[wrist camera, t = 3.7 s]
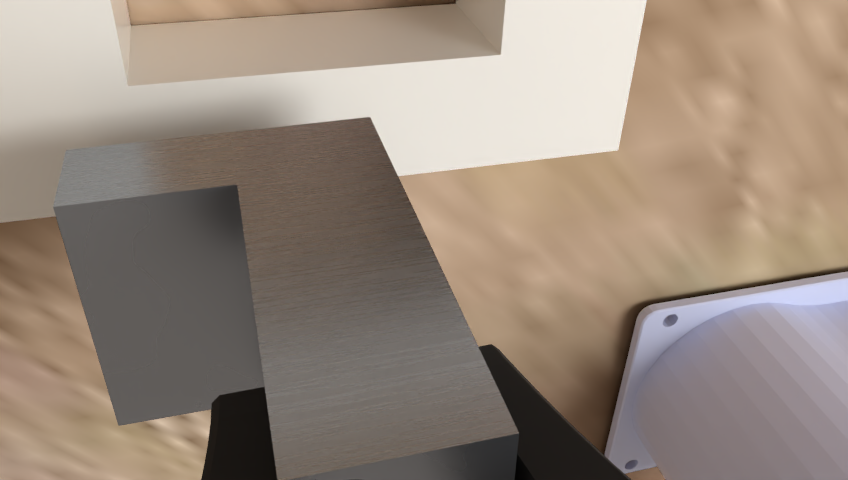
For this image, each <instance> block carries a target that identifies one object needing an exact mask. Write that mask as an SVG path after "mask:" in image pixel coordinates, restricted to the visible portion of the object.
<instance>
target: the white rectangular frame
mask: <svg viewBox="0 0 848 480" xmlns="http://www.w3.org/2000/svg"><path fill="white" fill-rule="evenodd" d="M646 1H647V0H456V4H444V5H429V6H414V7H399V8H384V9H370V10H355V11H340V12H325V13H311V14H296V15H281V16H266V17H251V18H237V19H222V20H207V21H192V22H177V23H163V24H148V25H133V26H131V23H130V18H129V13H128V8H127V2H126V0H0V223H4V222H12V221H21V220H29V219H38V218H46V217H55V216H56V215H55V212H54V209H53V205H54V200H55V196H56V191H57V187H58V183H59V178H60V174H61V170H62V165H63V161H64V156H65V152H66V150H70V149H79V148H88V147H98V146H107V145H116V144H125V143H134V142H144V141H153V140H162V139H171V138H180V137H190V136H199V135H208V134H217V133H226V132H236V131H245V130H254V129H263V128H272V127H282V126H291V125H300V124H309V123H318V122H328V121H337V120H346V119H355V118H364V117H370V118H371V120H372V122H373V124H374V126H375V128H376V131H377V133H378V135H379V137H380V139H381V141H382V143H383V145H384V148H385V150H386V152H387V154H388V156H389V158H390V160H391V162H392V165H393V167H394V169H395V171H396V173H397V175H398V176H403V175H412V174H420V173H429V172H437V171H446V170H454V169H463V168H471V167H480V166H488V165H497V164H505V163H514V162H522V161H531V160H539V159H548V158H556V157H565V156H573V155H582V154H590V153H599V152H607V151H616V150H618V148H619V143H620V137H621V132H622V127H623V122H624V116H625V111H626V106H627V101H628V95H629V90H630V85H631V80H632V74H633V69H634V64H635V58H636V53H637V48H638V43H639V37H640V32H641V27H642V22H643V16H644V11H645V6H646Z"/></svg>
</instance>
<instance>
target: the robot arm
mask: <svg viewBox="0 0 848 480" xmlns="http://www.w3.org/2000/svg"><path fill="white" fill-rule="evenodd" d="M667 316H668V317H667ZM479 349H480V351H481V353H482V356H483V358H484V360H485V362H486V364H487V366H488V368H489V370H490V372H491V375H492V377H493V379H494V381H495V383H496V385H497V387H498V389H499V392H500V394H501V396H502V398H503V400H504V402H505V404H506V406H507V409H508V411H509V413H510V415H511V417H512V419H513V421H514V423H515V426H516V428H517V430H518V432H519V440H518V450H517V460H516V470H515V479H514V480H631V479H630V478H629V477H628V476H626V475H625V473H630V472H634V471H639V470H643V469H648V468H652V467H658V468H659V470H660V472H661V473H662V475H663V476H664V478H665V480H848V271H847V272H841V273H835V274H829V275H823V276H817V277H811V278H806V279H800V280H794V281H788V282H782V283H776V284H770V285H764V286H758V287H752V288H746V289H740V290H734V291H728V292H722V293H716V294H710V295H704V296H699V297H693V298H687V299H681V300H675V301H669V302H663V303H657V304H652V305H649V306H647V307H645V308H644V309H642V311H641V312H640V313H639V315H638V317H637V319H636V324H635V328H634V332H633V336H632V340H631V345H630V349H629V353H628V357H627V361H626V366H625V370H624V374H623V378H622V382H621V387H620V391H619V395H618V399H617V403H616V408H615V412H614V416H613V420H612V425H611V429H610V433H609V437H608V441H607V446H606V450H605V454H604V455H603V454H602V453H601V452H600V451H599V450H598V449H597V448H596V447H595V446H594V445H593V444H591V443H590V442H589V441H588V440H587V439H586V438H585V437H584V436H583V435H582V434H581V433H580V432H579V431H577V430H576V429H575V428H574V427H573V426H572V425H571V424H570V423H569V422H568V421H567V420H566V419H565V418H564V417H563V416H562V415H561V414H560V413H559V412H558V411H557V410H556V409H555V408H554V407H553V406H552V405H551V404H550V403H549V402H548V401H547V400H546V399H545V398H544V397H543V396H542V395H541V394H540V393H539V392H538V391H537V390H536V389H535V388H534V387H533V385H532V384H531V383H530V382H529V381H528V380H527V379H526V378H525V377H524V376H523V375H522V374H521V373H520V372H519V371H518V370H517V369H516V368H515V367H514V365H513V364H512V363H511V362H510V361H509V360H508V359H507V358H506V357H505V356H504V355H503V354H502V353H501V351H500V350H499V349H497V348H496V347H495V346H493V345H492V344H491V345H486V346H480V347H479ZM201 480H277V473H276V466H275V459H274V451H273V444H272V437H271V429H270V422H269V415H268V407H267V400H266V393H265V387H260V388H255V389H249V390H244V391H239V392H233V393H228V394H223V395H219V396H218V397H217V398H216V399H215V400H214V401H213V402H212V407H211V425H210V433H209V441H208V448H207V454H206V459H205V464H204V469H203V474H202V479H201Z"/></svg>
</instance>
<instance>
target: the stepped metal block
mask: <svg viewBox="0 0 848 480" xmlns="http://www.w3.org/2000/svg"><path fill="white" fill-rule="evenodd" d="M53 209H54V212H55V215H56V219H57V222H58V225H59V229H60V232H61V235H62V239H63V242H64V245H65V249H66V252H67V255H68V259H69V262H70V265H71V269H72V272H73V275H74V279H75V282H76V285H77V289H78V292H79V295H80V299H81V302H82V305H83V309H84V312H85V315H86V319H87V322H88V325H89V329H90V332H91V335H92V339H93V342H94V345H95V349H96V352H97V355H98V359H99V362H100V365H101V369H102V372H103V375H104V379H105V382H106V385H107V389H108V392H109V395H110V399H111V402H112V405H113V409H114V412H115V415H116V419H117V422H118V425H119V426H120V425H126V424H131V423H137V422H142V421H148V420H154V419H159V418H165V417H170V416H176V415H181V414H187V413H193V412H198V411H204V410H209V409H211V407H212V402H213V401H214V400H215V399H216V398H217V397H218V396H219V395H223V394H228V393H233V392H239V391H244V390H249V389H255V388H260V387H265V393H266V400H267V407H268V415H269V422H270V429H271V437H272V444H273V451H274V459H275V466H276V473H277V480H514V479H515V470H516V460H517V450H518V440H519V432H518V430H517V428H516V426H515V423H514V421H513V419H512V417H511V415H510V413H509V411H508V409H507V406H506V404H505V402H504V400H503V398H502V396H501V394H500V392H499V389H498V387H497V385H496V383H495V381H494V379H493V377H492V375H491V372H490V370H489V368H488V366H487V364H486V362H485V360H484V358H483V356H482V353H481V351H480V349H479V347H478V345H477V343H476V341H475V339H474V336H473V334H472V332H471V330H470V328H469V326H468V324H467V322H466V319H465V317H464V315H463V313H462V311H461V309H460V307H459V305H458V302H457V300H456V298H455V296H454V294H453V292H452V290H451V288H450V285H449V283H448V281H447V279H446V277H445V275H444V273H443V271H442V269H441V266H440V264H439V262H438V260H437V258H436V256H435V254H434V252H433V249H432V247H431V245H430V243H429V241H428V239H427V237H426V235H425V232H424V230H423V228H422V226H421V224H420V222H419V220H418V218H417V215H416V213H415V211H414V209H413V207H412V205H411V203H410V201H409V198H408V196H407V194H406V192H405V190H404V188H403V186H402V184H401V182H400V179H399V177H398V175H397V173H396V171H395V169H394V167H393V165H392V162H391V160H390V158H389V156H388V154H387V152H386V150H385V148H384V145H383V143H382V141H381V139H380V137H379V135H378V133H377V131H376V128H375V126H374V124H373V122H372V120H371V118H370V117H364V118H355V119H346V120H337V121H328V122H318V123H309V124H300V125H291V126H282V127H272V128H263V129H254V130H245V131H236V132H226V133H217V134H208V135H199V136H190V137H180V138H171V139H162V140H153V141H144V142H134V143H125V144H116V145H107V146H98V147H88V148H79V149H70V150H66V152H65V156H64V161H63V165H62V170H61V174H60V178H59V183H58V187H57V191H56V196H55V200H54V205H53Z"/></svg>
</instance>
